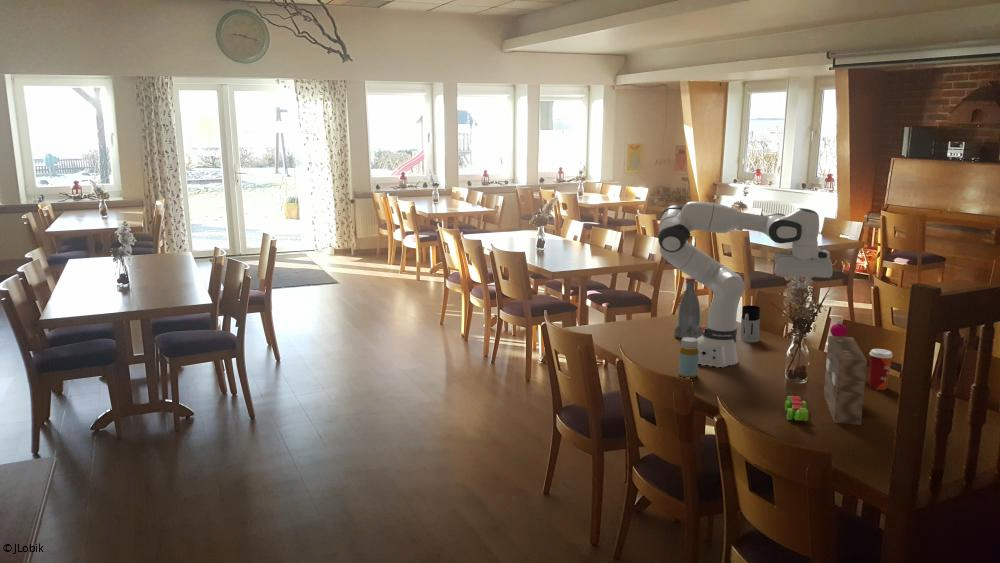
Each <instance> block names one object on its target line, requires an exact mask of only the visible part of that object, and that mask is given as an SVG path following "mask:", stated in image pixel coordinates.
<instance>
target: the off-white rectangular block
mask: <svg viewBox="0 0 1000 563" xmlns="http://www.w3.org/2000/svg"><path fill="white" fill-rule="evenodd" d="M836 378H837V376H836V374H835V372H833V373H832V382H833V385H834V386H836Z"/></svg>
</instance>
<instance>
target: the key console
mask: <svg viewBox="0 0 1000 563" xmlns="http://www.w3.org/2000/svg"><path fill="white" fill-rule="evenodd" d="M826 357H827V359H829V360H830V372H828V371H827V368H826V367H825V373H824V387H823V396H824V398H825V402H826V401H827V402H826V404H828V405H827V407H828V410H829V412H831V413H830V415H831V418H832V420H833V423H837V424H847V425H855V426H856V425H861V424H862V419H863V418H862V417H863V407H864V397H865V395H864V394H865V386H866V374H867V366H868V365H867V364H868V360H867V358H866V356H865V355H864V353H863V351H862V350H861V348H860V347H859V344H858V343H857V342H856V339H855V338H854V337H852V336H851V337H850V336H849V337H848V336H844V337H836V336H832V335H828V339H827V350H826ZM827 359H825V360H826V363H827ZM833 372H835V374H836V376H837V378H836V386H834V385H833V382H832V373H833Z"/></svg>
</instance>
